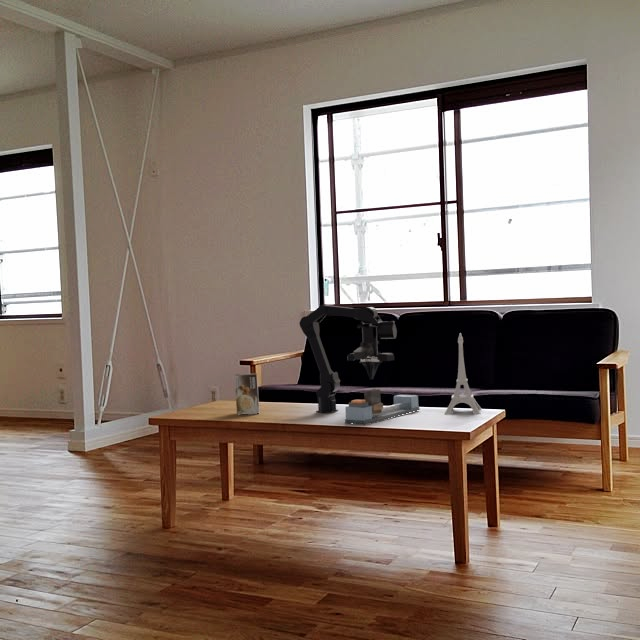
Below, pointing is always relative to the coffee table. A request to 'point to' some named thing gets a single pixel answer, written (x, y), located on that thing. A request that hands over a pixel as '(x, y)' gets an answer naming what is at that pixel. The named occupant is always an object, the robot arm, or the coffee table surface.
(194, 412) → the coffee table surface
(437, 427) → the coffee table surface
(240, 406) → the coffee box
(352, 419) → the rail
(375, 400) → the carriage
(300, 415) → the coffee table surface
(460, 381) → the eiffel tower
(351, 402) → the button
